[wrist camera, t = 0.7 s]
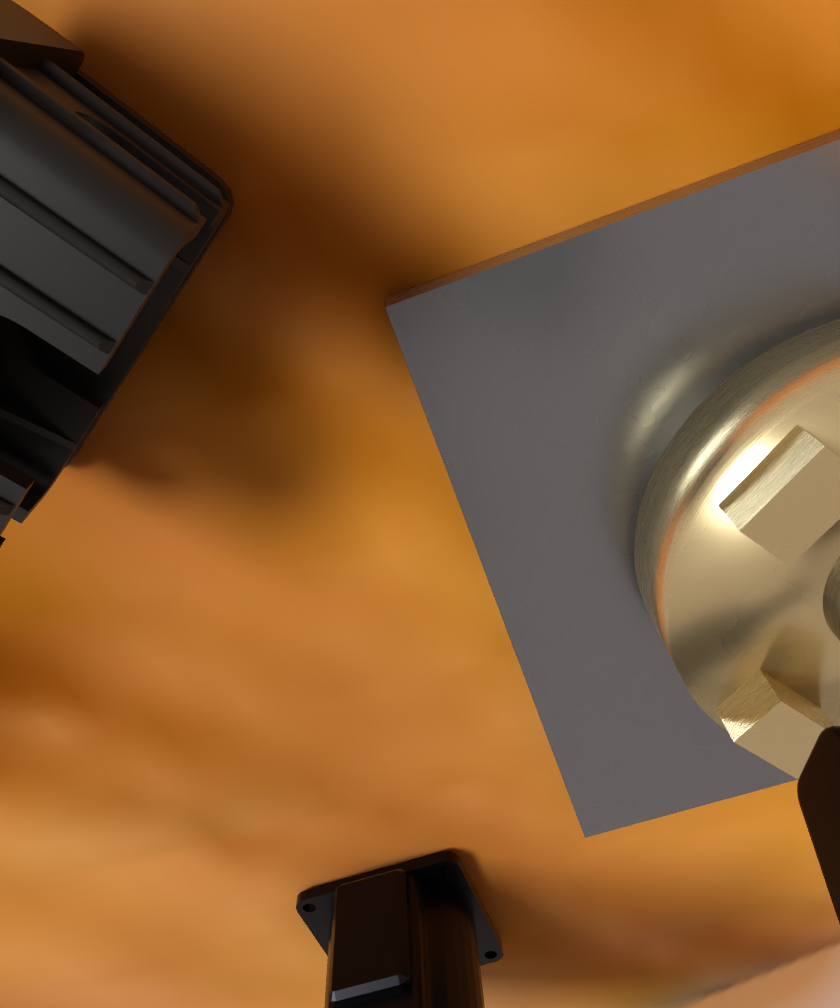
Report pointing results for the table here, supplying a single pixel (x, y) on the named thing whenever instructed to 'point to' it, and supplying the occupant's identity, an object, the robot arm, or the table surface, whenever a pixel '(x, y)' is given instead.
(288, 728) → the table surface
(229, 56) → the table surface
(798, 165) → the flange plate
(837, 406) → the gold disc with bar
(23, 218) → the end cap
